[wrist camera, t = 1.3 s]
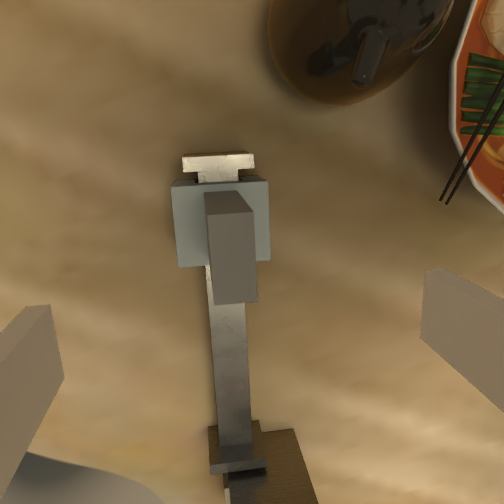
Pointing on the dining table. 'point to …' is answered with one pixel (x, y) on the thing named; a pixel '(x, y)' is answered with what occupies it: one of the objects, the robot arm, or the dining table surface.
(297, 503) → the grey square housing
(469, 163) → the ramen bowl
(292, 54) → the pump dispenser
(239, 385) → the rail
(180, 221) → the carriage
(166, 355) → the dining table surface
